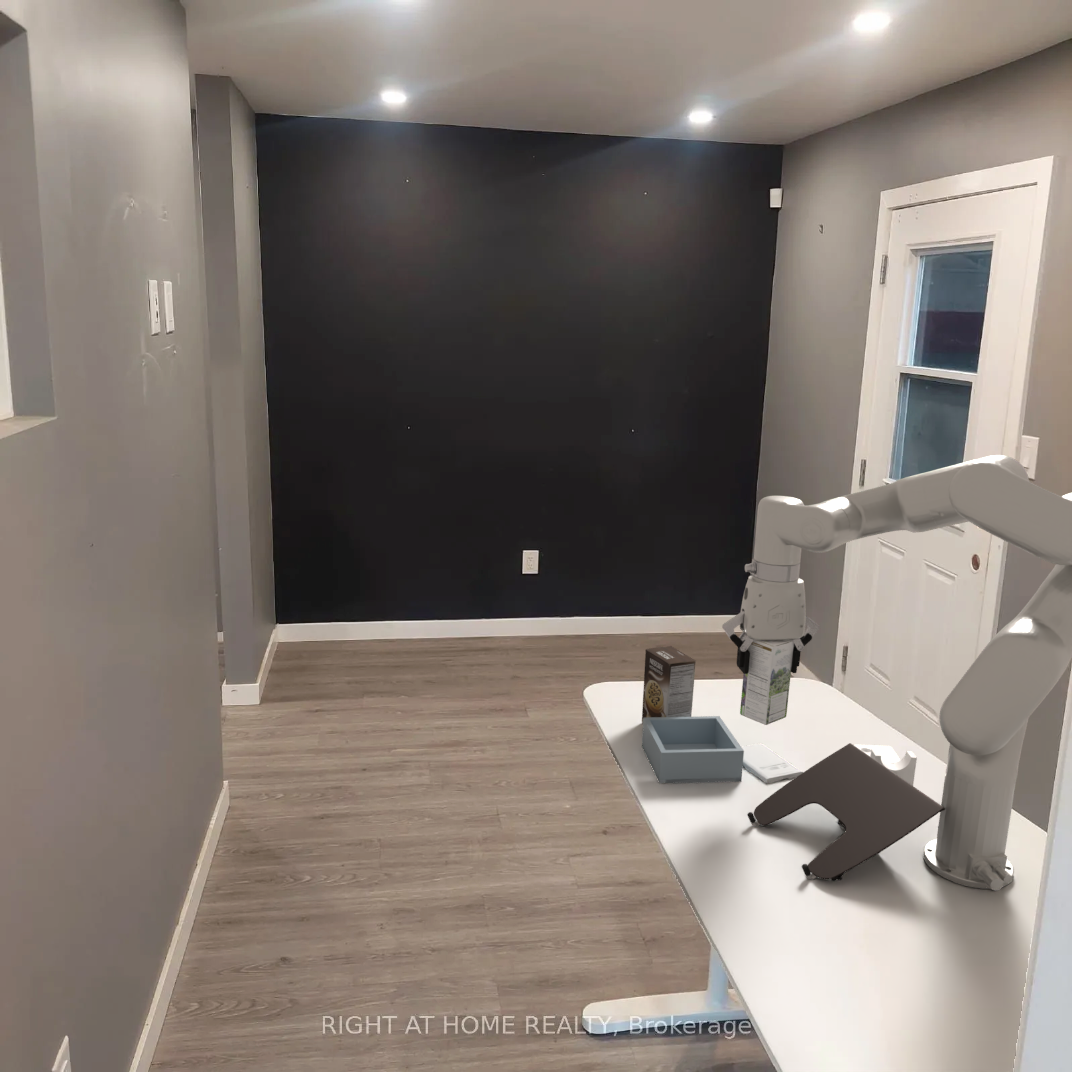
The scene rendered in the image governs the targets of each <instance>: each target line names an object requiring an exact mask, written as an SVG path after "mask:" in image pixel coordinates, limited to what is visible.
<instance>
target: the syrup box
mask: <svg viewBox="0 0 1072 1072" xmlns="http://www.w3.org/2000/svg"><path fill="white" fill-rule="evenodd" d="M793 647H794V643H793V641H792V640H753V642H752V643H751V645H750V646H749V647H748V651H749V652H750V659H749V672H748V673H747V674H744V673H743V675H742V676H743V677H742V687H741V696H740V708H739V709H740V710H739V714H740V716H743V717H746V718H748V719H750V720H752V721H755V722H757V723H760V724H761V725H762V724H763V725H764V726H767V725H771V724H772V723H773V724H774V723H775V722H778V721H780V720H782V719H784V718H786V717H787V713H788V706H789V705H788V704H789V693H790V685H791V683H790V682H791V677H792V676H791V675H792V672H791V667H792V657H793Z"/></svg>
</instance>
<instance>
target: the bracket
mask: <svg viewBox="0 0 1072 1072" xmlns="http://www.w3.org/2000/svg"><path fill="white" fill-rule="evenodd" d="M852 744H853V745H854V746H855V747H857V748H858V749H860V750H861V751H863V752H864V753H866V754H867V755H869V756H870V757H871V758H873V759H874V760H876V761H877V762H879V763H880V764H882V765H883V766H885V767H886V768H887V769H889V770H890V771H892V772H893V773H895V774H896V775H898V776H899V777H901V778H902V779H903V780H905V781H906V782H908V783H909V784H911V785H912V786H914V782H915V774H916V766H917V759H918V758H917V756H916V754H915V753H914V751H912V750H906V752H905V755H904V756H903V757H902V758H900V757H899V755H898V754H897V752H896V751H895V750H894V748H893V747H892V746H891V745H880V744H879V745H876V744H858V743H855V744H854V743H852Z"/></svg>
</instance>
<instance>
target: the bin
mask: <svg viewBox="0 0 1072 1072" xmlns="http://www.w3.org/2000/svg"><path fill="white" fill-rule="evenodd" d="M641 733H642V735H641V747H642V750H643V752H644V754H645V755H646V758H648V759H647V760H649V761H648V762H649V765H650V764H651V765H650V766H652V767H651V769H652V768H653V769H652V771H653V770H654V771H653V773H654V775H655V777H656V779H658V780H657V781H659V782H658V784H659V783H673V784H702V783H704V784H705V783H706V784H709V783H736V782H738V783H739V782H742V779H743V778H742V776H743V768H744V767H743V756H744V750H743V749H742V747H741V745H740V743H739V742H738V741H737V739H736V738H735V736H734V735H733V733H732V732H731V730H730V729H729V728H728V726H727V725H726V723H725V721H724V720H723V719H722V718H721V717H720V715H713V716H712V715H711V716H710V715H707V716H705V715H704V716H702V715H701V716H691V717H648V718H643V723H642V732H641Z"/></svg>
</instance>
